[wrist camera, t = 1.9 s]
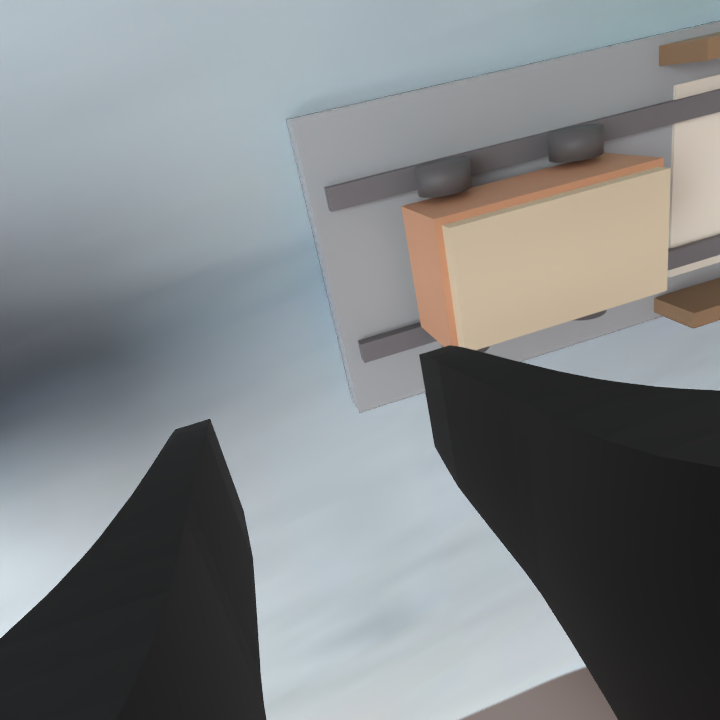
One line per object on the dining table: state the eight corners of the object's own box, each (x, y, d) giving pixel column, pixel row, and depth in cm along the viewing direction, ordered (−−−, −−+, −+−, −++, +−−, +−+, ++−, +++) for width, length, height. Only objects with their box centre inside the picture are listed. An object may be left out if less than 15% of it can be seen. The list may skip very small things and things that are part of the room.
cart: (390, 171, 17) (435, 182, 14) (596, 119, 19) (678, 120, 15) (421, 349, 20) (464, 392, 17) (600, 294, 21) (671, 325, 18)
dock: (286, 119, 18) (304, 119, 15) (855, -11, 21) (953, -30, 18) (352, 401, 22) (375, 440, 19) (817, 254, 25) (891, 270, 23)
